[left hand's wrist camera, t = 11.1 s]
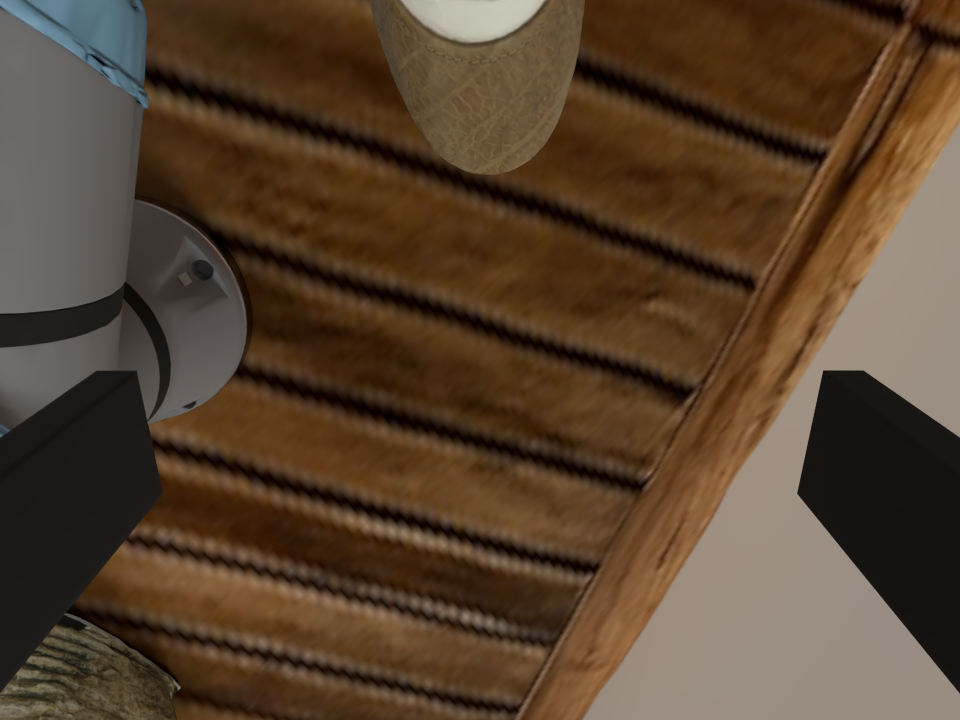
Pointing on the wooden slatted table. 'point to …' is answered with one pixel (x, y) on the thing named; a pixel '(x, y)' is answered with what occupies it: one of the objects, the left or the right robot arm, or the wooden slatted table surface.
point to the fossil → (87, 680)
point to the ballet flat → (482, 73)
